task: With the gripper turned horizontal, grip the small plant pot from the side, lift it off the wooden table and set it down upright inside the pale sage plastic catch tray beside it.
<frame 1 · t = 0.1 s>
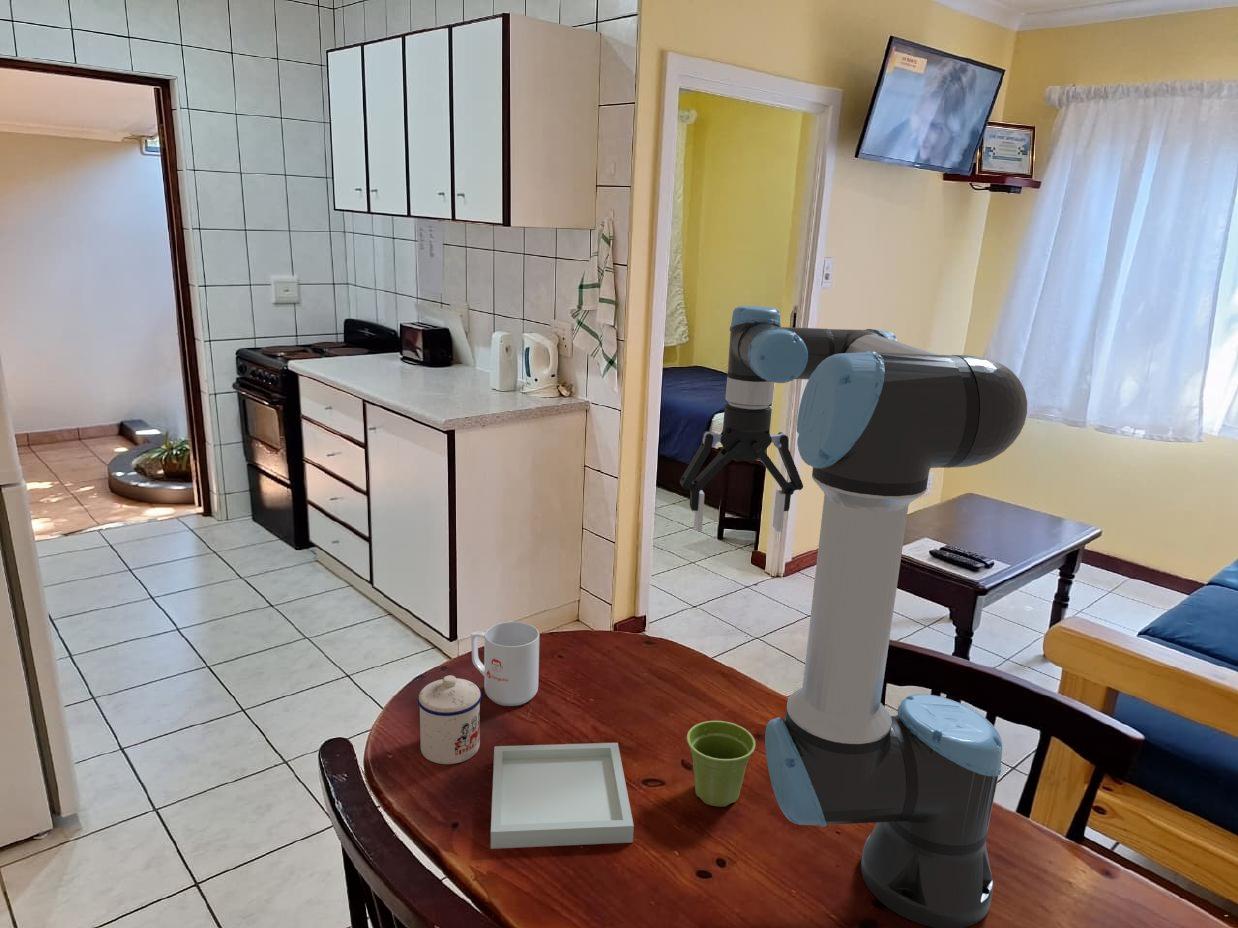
hand: (737, 529, 142), 28 cm above the table, tool pointing down, fingers open, 13 cm apart
plant pot: (716, 794, 119), on the table
mug: (503, 692, 142), on the table
catch tray: (559, 799, 116), on the table
teacup with lid: (454, 743, 128), on the table
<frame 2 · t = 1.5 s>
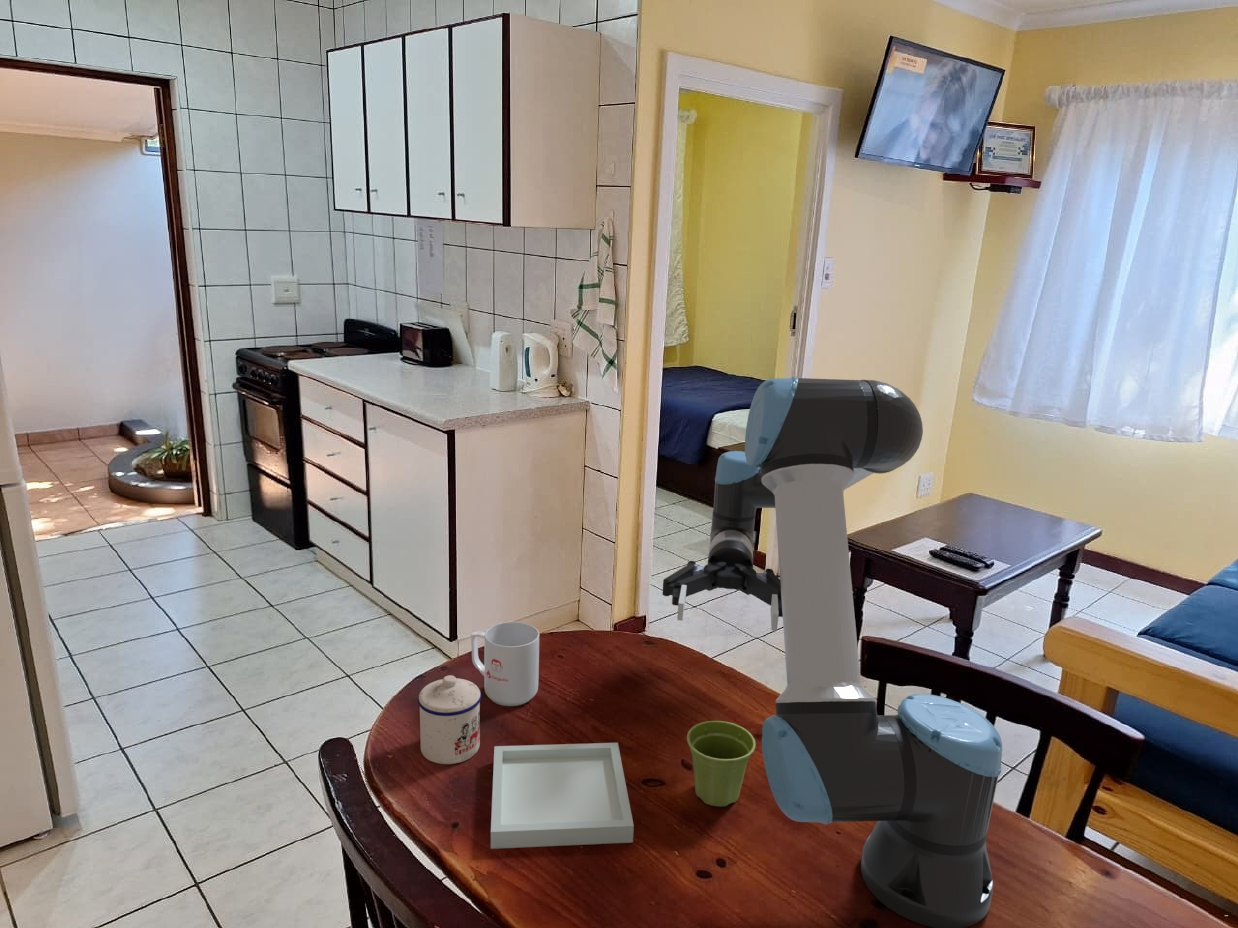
hand: (727, 617, 122), 22 cm above the table, tool horizontal, fingers open, 13 cm apart
nothing on the table moved.
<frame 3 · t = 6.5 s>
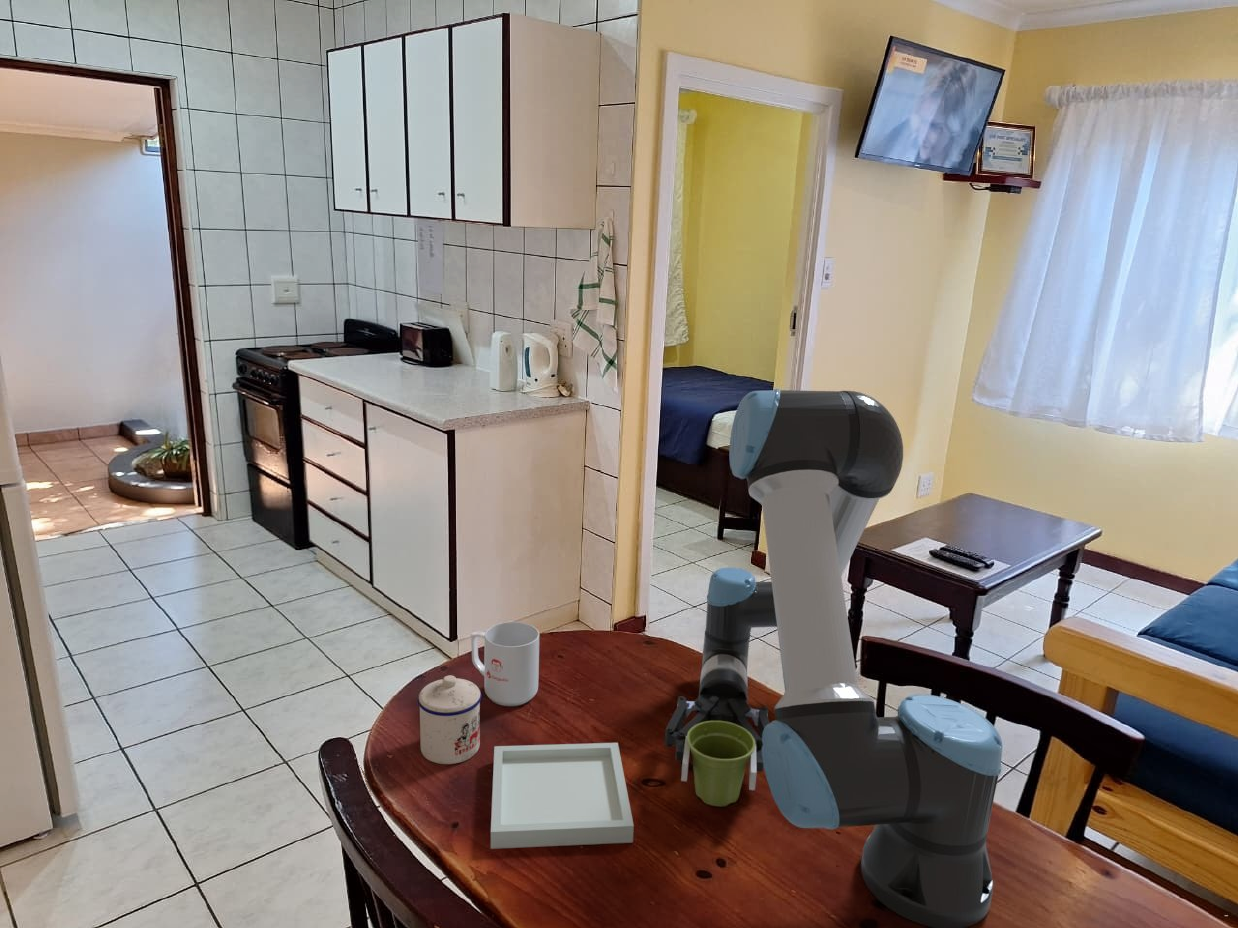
hand: (718, 776, 113), 6 cm above the table, tool horizontal, fingers closed on plant pot, 8 cm apart
plant pot: (716, 794, 119), on the table, touching gripper
everything else where it was.
when the fingers open (8 cm above the table, at t = 12.1 s): plant pot moves 1 cm, resting on catch tray.
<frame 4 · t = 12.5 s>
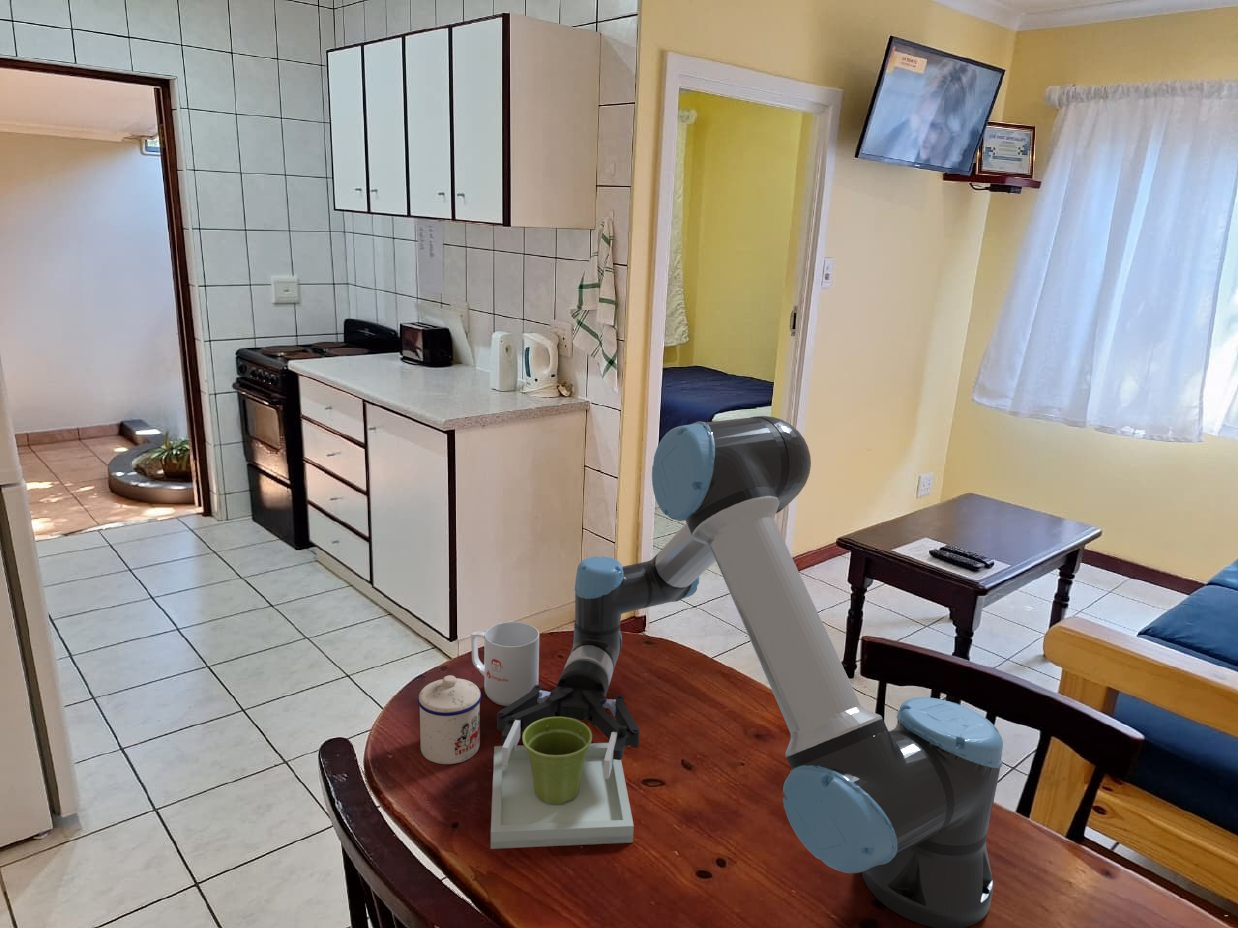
hand: (555, 763, 111), 8 cm above the table, tool horizontal, fingers open, 13 cm apart
plant pot: (556, 792, 116), point 1 cm above the table, touching catch tray
everything else where it was.
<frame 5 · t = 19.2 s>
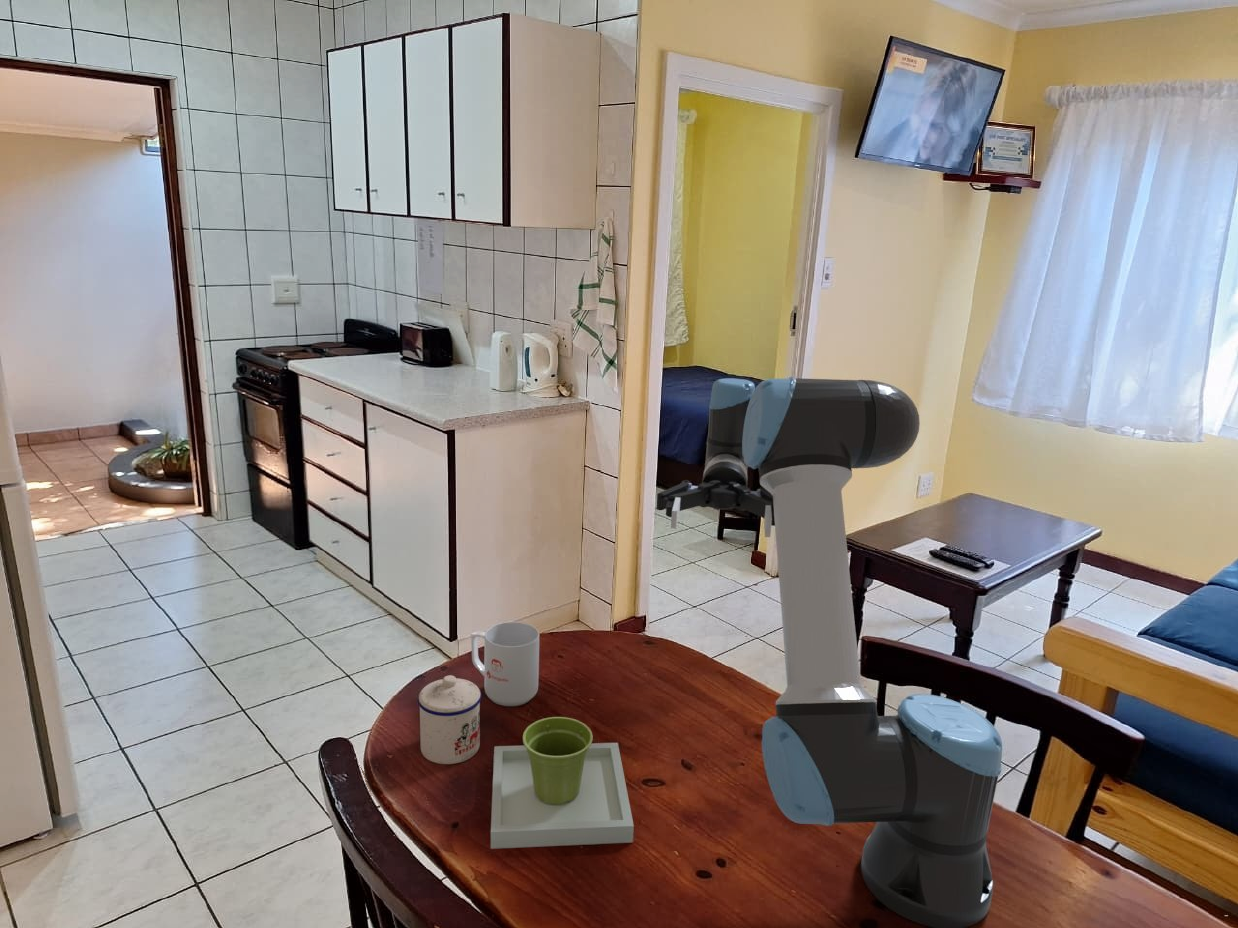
hand: (720, 524, 123), 35 cm above the table, tool horizontal, fingers open, 13 cm apart
nothing on the table moved.
at the end: plant pot inside the target area on the catch tray (0.6 cm from its centre), point 0.8 cm above the catch tray's base; plant pot tilted 0°; the gripper is holding nothing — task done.
